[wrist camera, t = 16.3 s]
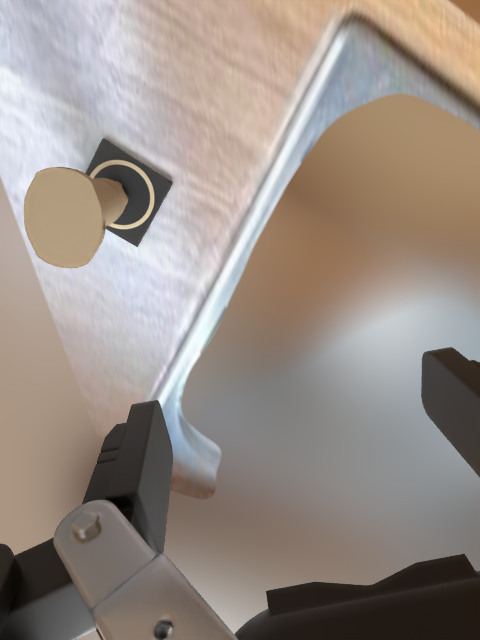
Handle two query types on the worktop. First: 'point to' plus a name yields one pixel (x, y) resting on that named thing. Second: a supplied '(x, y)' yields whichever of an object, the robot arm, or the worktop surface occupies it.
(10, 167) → the worktop surface
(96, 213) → the handle
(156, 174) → the slate board
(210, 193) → the worktop surface
